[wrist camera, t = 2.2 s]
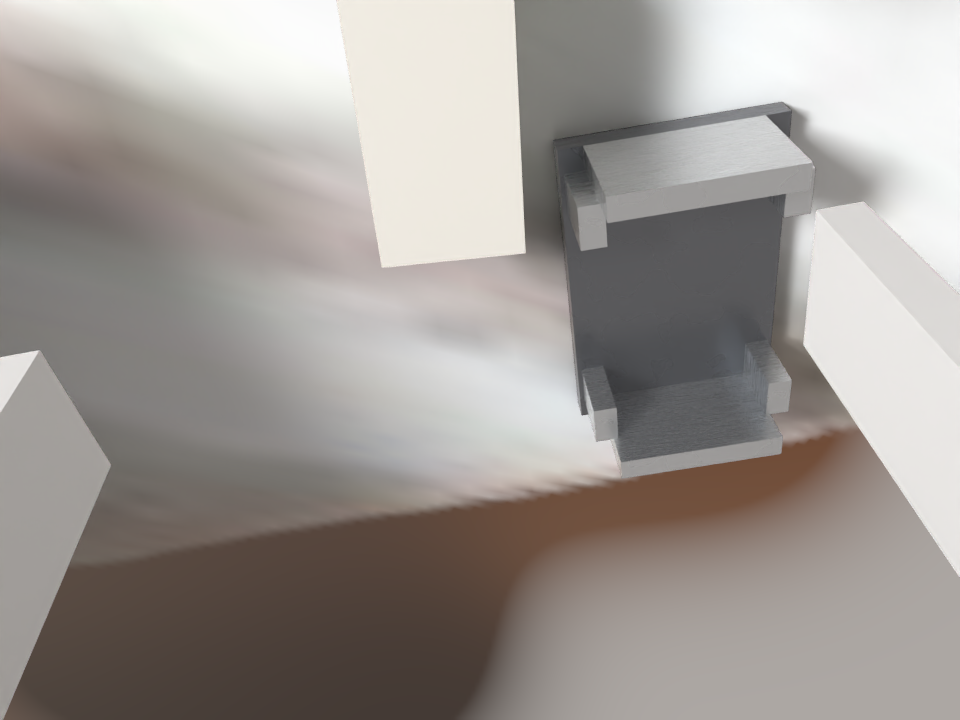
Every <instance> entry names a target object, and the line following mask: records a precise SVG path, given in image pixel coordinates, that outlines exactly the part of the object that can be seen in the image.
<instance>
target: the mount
mask: <svg viewBox="0 0 960 720" xmlns="http://www.w3.org/2000/svg"><path fill="white" fill-rule="evenodd" d="M791 114H792V110H790V109H789V108H788V107H787V106H786V105H785V104H784V103H783V102H778V103H772V104H766V105H760V106H754V107H748V108H742V109H737V110H731V111H725V112H719V113H713V114H707V115H701V116H695V117H689V118H683V119H677V120H671V121H665V122H660V123H654V124H648V125H642V126H636V127H630V128H624V129H618V130H612V131H606V132H600V133H594V134H588V135H582V136H577V137H571V138H565V139H559V140H553V142H554V153H555V163H556V174H557V185H558V195H559V206H560V216H561V227H562V237H563V248H564V258H565V269H566V280H567V290H568V301H569V311H570V322H571V332H572V343H573V353H574V364H575V375H576V385H577V396H578V404H579V407H580V411H581V415H587V414H589V418H590V421H591V425H592V429H593V432H594V436H595V439H596V442H597V441H604V440H611V444H612V447H613V450H614V454H615V457H616V460H617V464H618V467H619V470H620V474H621V477H622V478H629V477H635V476H641V475H648V474H654V473H661V472H667V471H673V470H680V469H686V468H693V467H699V466H706V465H712V464H718V463H725V462H731V461H738V460H743V459H750V458H757V457H763V456H770V455H776V454H781V450H782V441H783V436H782V434H781V433H780V431H779V429H778V427H777V425H776V424H775V422H774V420H773V418H772V416H771V415H770V414H775V413H782V412H788V410H789V401H790V392H791V383H792V380H791V378H790V376H789V375H788V373H787V371H786V370H785V368H784V367H783V365H782V363H781V362H780V360H779V359H778V357H777V355H776V354H775V352H774V351H773V349H772V347H771V337H772V326H773V314H774V303H775V292H776V281H777V270H778V259H779V248H780V237H781V225H782V216H783V217H784V218H785V217H791V216H797V215H804V214H810V213H811V207H812V198H813V189H814V180H815V171H816V168H815V167H814V166H813V162H812V161H811V160H810V159H809V158H808V157H807V156H806V155H805V154H804V153H803V152H802V151H801V150H800V149H799V148H798V147H797V146H796V145H795V144H794V143H793V142H792V141H791V140H790V139H789V136H790V125H791Z"/></svg>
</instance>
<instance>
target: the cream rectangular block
mask: <svg viewBox="0 0 960 720" xmlns="http://www.w3.org/2000/svg"><path fill="white" fill-rule="evenodd" d="M337 6H338V12H339V18H340V24H341V30H342V36H343V42H344V48H345V54H346V59H347V65H348V71H349V77H350V83H351V89H352V95H353V101H354V107H355V113H356V119H357V124H358V130H359V136H360V142H361V148H362V154H363V160H364V166H365V172H366V178H367V183H368V189H369V195H370V201H371V207H372V213H373V219H374V225H375V231H376V237H377V242H378V248H379V254H380V260H381V266H382V268H385V267H395V266H404V265H414V264H424V263H434V262H444V261H454V260H464V259H473V258H483V257H493V256H503V255H513V254H523V253H525V230H524V208H523V186H522V163H521V141H520V119H519V97H518V74H517V52H516V30H515V7H514V0H337Z"/></svg>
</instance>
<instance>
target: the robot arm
mask: <svg viewBox="0 0 960 720" xmlns="http://www.w3.org/2000/svg"><path fill="white" fill-rule="evenodd" d="M803 345H804V347H805V348H806V350H807V351H808V353H809V354H810V356H811V357H812V359H813V360H814V362H815V363H816V365H817V366H818V367H819V369H820V370H821V372H822V373H823V375H824V376H825V378H826V379H827V381H828V382H829V384H830V385H831V387H832V388H833V390H834V391H835V393H836V394H837V396H838V397H839V399H840V400H841V402H842V403H843V405H844V406H845V408H846V409H847V411H848V412H849V414H850V415H851V417H852V418H853V420H854V421H855V423H856V424H857V425H858V427H859V428H860V430H861V431H862V433H863V434H864V436H865V437H866V439H867V440H868V442H869V443H870V445H871V446H872V448H873V449H874V451H875V452H876V454H877V455H878V457H879V458H880V459H881V461H882V463H883V464H884V465H885V467H886V469H887V470H888V471H889V473H890V475H891V476H892V477H893V479H894V480H895V482H896V483H897V485H898V486H899V487H900V489H901V491H902V492H903V494H904V495H905V497H906V498H907V500H908V501H909V503H910V504H911V506H912V507H913V508H914V510H915V511H916V513H917V515H918V516H919V518H920V519H921V521H922V522H923V524H924V525H925V527H926V528H927V530H928V531H929V533H930V534H931V535H932V537H933V538H934V540H935V541H936V543H937V544H938V546H939V547H940V549H941V550H942V552H943V553H944V555H945V556H946V558H947V559H948V561H949V562H950V564H951V565H952V567H953V568H954V570H955V571H956V573H957V574H958V575H959V577H960V294H959V293H958V292H957V291H956V290H955V289H953V288H952V287H951V286H950V285H949V284H948V283H947V282H946V281H945V280H944V279H943V278H942V277H941V276H940V275H939V274H938V273H937V272H936V271H935V270H934V269H933V268H932V267H931V266H930V265H929V264H928V263H927V262H926V261H925V260H924V259H923V258H922V257H921V256H920V255H918V254H917V253H916V252H915V251H914V250H913V249H912V248H911V247H910V246H909V245H908V244H907V243H906V242H905V241H904V240H903V239H902V238H901V237H900V236H899V235H898V234H897V233H896V232H895V231H894V230H893V229H892V228H891V227H890V226H889V225H888V224H887V223H886V222H885V221H883V220H882V219H881V218H880V217H879V216H878V215H877V214H876V213H875V212H874V211H873V210H872V209H871V208H870V207H869V206H868V205H867V204H866V203H865V202H864V201H862V202H857V203H851V204H846V205H840V206H834V207H829V208H823V209H818V210H816V217H815V228H814V238H813V249H812V259H811V270H810V280H809V291H808V301H807V312H806V322H805V333H804V343H803ZM110 467H111V464H110V462H109V460H108V459H107V457H106V456H105V454H104V452H103V451H102V449H101V448H100V446H99V444H98V443H97V441H96V440H95V438H94V436H93V435H92V433H91V431H90V430H89V428H88V427H87V425H86V423H85V422H84V420H83V419H82V417H81V415H80V414H79V412H78V411H77V409H76V407H75V406H74V404H73V402H72V401H71V399H70V398H69V396H68V394H67V393H66V391H65V390H64V388H63V386H62V385H61V383H60V382H59V380H58V378H57V377H56V375H55V373H54V372H53V370H52V369H51V367H50V365H49V364H48V362H47V361H46V359H45V357H44V356H43V354H42V353H41V351H40V350H37V351H32V352H26V353H21V354H15V355H10V356H4V357H0V720H3V718H4V716H5V713H6V711H7V708H8V706H9V704H10V701H11V699H12V697H13V695H14V692H15V690H16V688H17V685H18V683H19V681H20V678H21V676H22V673H23V671H24V669H25V666H26V663H27V662H28V659H29V657H30V655H31V652H32V650H33V648H34V645H35V643H36V641H37V638H38V636H39V634H40V631H41V629H42V627H43V624H44V622H45V619H46V617H47V615H48V612H49V610H50V608H51V605H52V603H53V601H54V598H55V596H56V594H57V591H58V589H59V587H60V584H61V582H62V580H63V577H64V575H65V572H66V570H67V568H68V565H69V563H70V561H71V558H72V556H73V554H74V551H75V549H76V547H77V544H78V542H79V540H80V537H81V535H82V533H83V530H84V528H85V526H86V523H87V521H88V519H89V516H90V514H91V511H92V509H93V507H94V504H95V502H96V500H97V497H98V495H99V493H100V490H101V488H102V486H103V483H104V481H105V479H106V476H107V474H108V472H109V469H110Z"/></svg>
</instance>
